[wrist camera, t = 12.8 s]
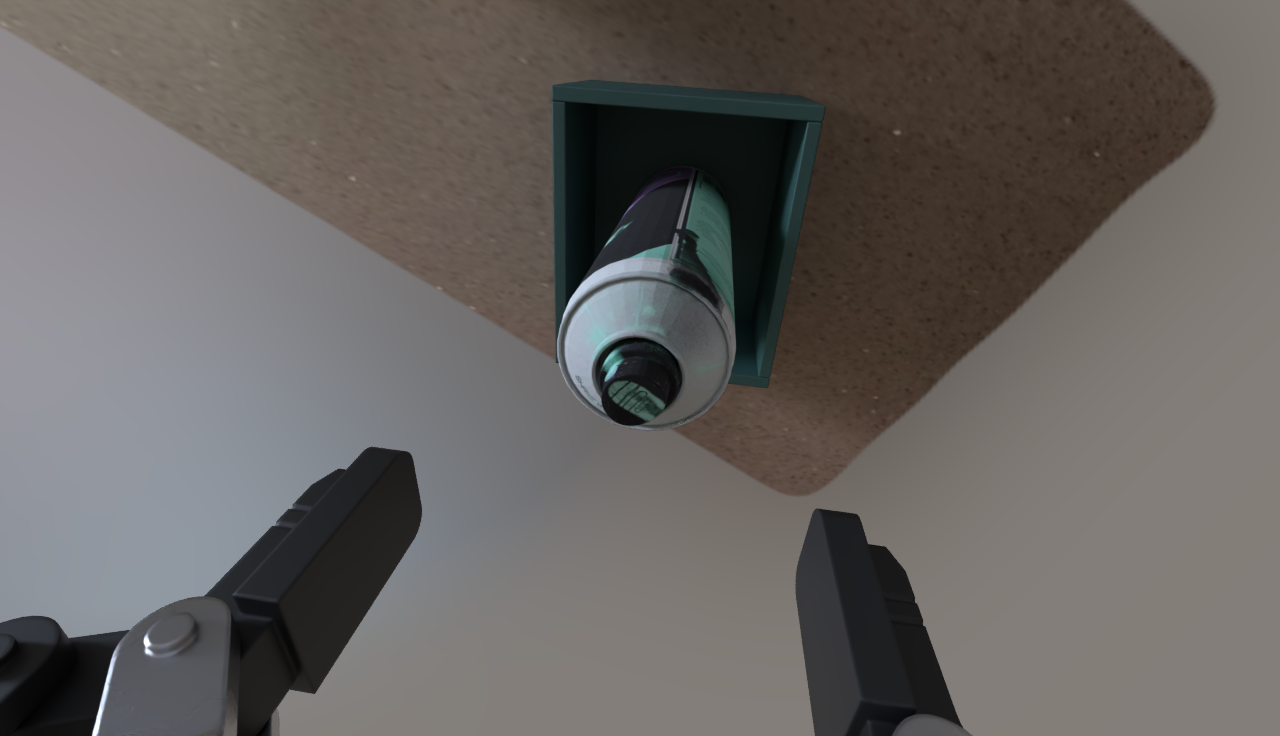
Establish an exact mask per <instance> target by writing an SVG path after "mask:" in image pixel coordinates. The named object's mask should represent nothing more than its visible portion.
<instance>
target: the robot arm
mask: <svg viewBox="0 0 1280 736" xmlns="http://www.w3.org/2000/svg"><path fill="white" fill-rule="evenodd" d="M421 517H422V506H421V500H420V495H419V489H418V484H417V479H416V473H415V467H414V462H413V458H412V456H411V454H410V453H409V452H406V451H400V450H391V449H385V448H378V447H369V448H367V449H365V450H364V451H363V452H362V453H361V454H360V456H358V458H357V459H356V460H355V461H354V462H353V463H352V464H351V465H350V466H349V467H348V469H347V470H345V469H337V470H335V471H334V472H332V473H331V474H329V475H327V476H326V477H324V478H322V479H321V480H319V481H317V482H316V483H314V484H312V485H311V486H310V487H309V488H308V489H307V490H306V491H305V492H304V494H303V495H302V496H301V497H300V498H299V499H298V500H297V501H296V502H295V503H294V504H293V507H292V509H288V510H287V511H286V512H285V513H284V514H283V515H282V516H281V517H280V518H279V520H278V521H277V522H276V525H275V526H272V527H271V528H270V529H269V530H268V531H267V532H266V533H265V534H264V535H263V536H262V537H261V538H260V539H259V540H258V541H257V542H256V543H255V544H254V545H253V546H252V547H251V548H250V550H249V551H248V552H247V553H246V554H245V555H244V556H243V557H242V558H241V559H240V560H239V561H238V562H237V563H236V564H235V565H234V566H233V567H232V568H231V569H230V570H229V572H227V573H226V574H225V575H224V577H223V578H222V579H221V580H220V581H219V582H218V583H217V584H216V585H215V586H214V587H213V588H212V589H211V590H210V591H209V592H208V593H207V594H206V595H205V596H202V597H192V598H187V599H184V600H180V601H177V602H174V603H172V604H169V605H167V606H165V607H162V608H160V609H159V610H157V611H155V612H153V613H151V614H150V615H148V616H147V617H146V618H144V619H143V620H141V621H140V622H139V623H137V624H136V625H135V626H134V627H133V628H132V629H131V630H126V631H119V632H112V633H105V634H97V635H89V636H82V637H75V638H68V637H67V635H66V634H65V633H64V631H63V630H62V629H61V627H60V626H59V624H58V623H57V622H56V621H55V620H53V619H51V618H49V617H44V616H28V617H21V618H16V619H12V620H9V621H6V622H2V623H0V736H279V713H278V710H277V707H278V705H279V704H280V702H281V701H282V699H283V698H284V696H285V695H286V693H287V692H288V691H289V689H290V690H295V691H301V692H307V693H312V694H315V693H316V691H317V690H318V688H319V687H320V685H321V683H322V682H323V680H324V679H325V677H326V676H327V674H328V673H329V671H330V669H331V668H332V666H333V665H334V663H335V661H336V660H337V658H338V657H339V655H340V654H341V652H342V651H343V649H344V648H345V646H346V644H347V643H348V641H349V640H350V638H351V637H352V635H353V633H354V632H355V630H356V629H357V627H358V626H359V624H360V622H361V621H362V620H363V618H364V616H365V615H366V613H367V612H368V610H369V609H370V607H371V606H372V604H373V602H374V601H375V599H376V598H377V596H378V595H379V593H380V591H381V590H382V588H383V587H384V585H385V584H386V582H387V581H388V579H389V577H390V576H391V574H392V573H393V571H394V570H395V568H396V566H397V565H398V563H399V562H400V560H401V559H402V557H403V556H404V554H405V553H406V551H407V549H408V548H409V546H410V545H411V543H412V541H413V540H414V538H415V536H416V534H417V532H418V529H419V526H420V522H421ZM796 600H797V607H798V615H799V621H800V629H801V637H802V644H803V651H804V658H805V666H806V673H807V680H808V688H809V695H810V702H811V710H812V717H813V724H814V731H815V736H972V735H971V734H970V733H969V732H967V731H966V730H965V729H964V728H963V727H962V725H961V723H960V721H959V718H958V716H957V714H956V711H955V708H954V705H953V703H952V700H951V697H950V694H949V691H948V689H947V686H946V683H945V680H944V677H943V675H942V672H941V669H940V666H939V663H938V661H937V658H936V655H935V652H934V649H933V647H932V644H931V641H930V639H929V636H928V633H927V630H926V627H925V626H923V619H922V616H921V613H920V610H919V607H918V605H917V604H916V603H915V596H914V593H913V591H912V588H911V585H910V582H909V579H908V577H907V574H906V571H905V570H904V569H903V567H902V566H901V565H900V564H899V563H898V562H897V560H896V559H895V558H894V556H893V555H892V554H891V553H890V551H889V550H888V549H887V548H886V547H884V546H877V545H870V544H868V543H867V540H866V536H865V533H864V529H863V526H862V523H861V520H860V518H859V516H858V515H857V514H853V513H846V512H839V511H831V510H823V509H815V510H814V512H813V514H812V517H811V521H810V524H809V527H808V531H807V534H806V537H805V541H804V544H803V548H802V551H801V554H800V558H799V561H798V565H797V572H796Z"/></svg>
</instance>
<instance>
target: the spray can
mask: <svg viewBox="0 0 1280 736" xmlns="http://www.w3.org/2000/svg"><path fill="white" fill-rule="evenodd" d="M735 352H736V335H735V314H734V293H733V272H732V251H731V230H730V211H729V204H728V200H727V197H726V195H725V193H724V191H723V189H722V187H721V186H720V184H719V183H718V182H717V181H716V179H714V178H713V177H712V176H711V175H710V174H708V173H707V172H705V171H703V170H701V169H698V168H695V167H692V166H673V167H669V168H666V169H663V170H661V171H660V172H658V173H656V174H655V175H653V176H652V177H651V178H650V179H649V180H648V181H647V182H646V183H645V184H644V185H643V187H642V188H641V189H640V191H639V192H638V194H637V196H636V197H635V199H634V200H633V202H632V203H631V205H630V207H629V208H628V210H627V211H626V213H625V214H624V216H623V217H622V219H621V221H620V222H619V224H618V225H617V227H616V228H615V230H614V232H613V233H612V235H611V236H610V238H609V239H608V241H607V243H606V244H605V246H604V247H603V249H602V250H601V252H600V254H599V255H598V257H597V258H596V260H595V261H594V263H593V264H592V266H591V268H590V269H589V271H588V272H587V274H586V275H585V277H584V279H583V280H582V282H581V283H580V285H579V286H578V288H577V290H576V291H575V293H574V294H573V296H572V297H571V299H570V301H569V303H568V305H567V307H566V310H565V312H564V314H563V319H562V323H561V326H560V329H559V334H558V340H557V356H558V361H559V365H560V369H561V372H562V374H563V376H564V378H565V381H566V383H567V385H568V387H569V388H570V389H571V391H572V392H573V394H574V395H575V396H576V398H577V399H578V400H579V401H580V402H582V404H584V406H586V407H587V408H588V409H589V410H590V411H592V412H593V413H595V414H596V415H598V416H599V417H601V418H603V419H605V420H607V421H609V422H611V423H613V424H615V425H619V426H622V427H626V428H629V429H635V430H643V431H656V430H666V429H671V428H676V427H679V426H682V425H684V424H687V423H689V422H692V421H694V420H695V419H697V418H698V417H700V416H701V415H703V414H704V413H706V412H707V411H708V410H709V409H710V408H711V407H712V406H713V405H714V404H715V403H716V402H717V401H718V399H719V398H720V396H721V395H722V393H723V392H724V390H725V388H726V386H727V383H728V381H729V378H730V376H731V370H732V366H733V364H734V358H735Z"/></svg>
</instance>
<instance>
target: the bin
mask: <svg viewBox="0 0 1280 736" xmlns="http://www.w3.org/2000/svg"><path fill="white" fill-rule="evenodd" d="M825 109H826V107H825V106H823V105H821V104H819V103H816V102H814V101H812V100H809V99H807V98H805V97H802V96H796V95H783V94H769V93H756V92H743V91H730V90H716V89H703V88H690V87H677V86H664V85H650V84H637V83H624V82H611V81H598V80H587V81H579V82H572V83H565V84H557V85H552V144H553V210H554V277H555V343H556V363H559V361H558V356H557V340H558V334H559V329H560V326H561V323H562V319H563V314H564V312H565V310H566V307H567V305H568V303H569V301H570V299H571V297H572V296H573V294H574V293H575V291H576V290H577V288H578V286H579V285H580V283H581V282H582V280H583V279H584V277H585V275H586V274H587V272H588V271H589V269H590V268H591V266H592V264H593V263H594V261H595V260H596V258H597V257H598V255H599V254H600V252H601V250H602V249H603V247H604V246H605V244H606V243H607V241H608V239H609V238H610V236H611V235H612V233H613V232H614V230H615V228H616V227H617V225H618V224H619V222H620V221H621V219H622V217H623V216H624V214H625V213H626V211H627V210H628V208H629V207H630V205H631V203H632V202H633V200H634V199H635V197H636V196H637V194H638V192H639V191H640V189H641V188H642V187H643V185H644V184H645V183H646V182H647V181H648V180H649V179H650V178H651V177H652V176H653V175H655V174H656V173H658V172H660V171H661V170H663V169H666V168H669V167H673V166H692V167H695V168H698V169H701V170H703V171H705V172H707V173H708V174H710V175H711V176H712V177H713V178H714V179H716V181H717V182H718V183H719V184H720V186H721V187H722V189H723V191H724V193H725V195H726V197H727V200H728V204H729V211H730V230H731V251H732V272H733V293H734V314H735V335H736V352H735V358H734V364H733V366H732V370H731V376H730V378H729V381H728V384H737V385H745V386H754V387H762V388H768V384H769V380H770V378H769V377H770V374H771V370H772V365H773V360H774V355H775V350H776V345H777V341H778V336H779V331H780V326H781V321H782V317H783V312H784V307H785V302H786V297H787V292H788V288H789V283H790V278H791V273H792V268H793V263H794V259H795V254H796V249H797V244H798V239H799V234H800V230H801V225H802V220H803V215H804V210H805V206H806V201H807V196H808V191H809V186H810V181H811V177H812V172H813V167H814V162H815V157H816V152H817V148H818V143H819V138H820V133H821V128H822V123H821V122H823V119H824V114H825Z"/></svg>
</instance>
